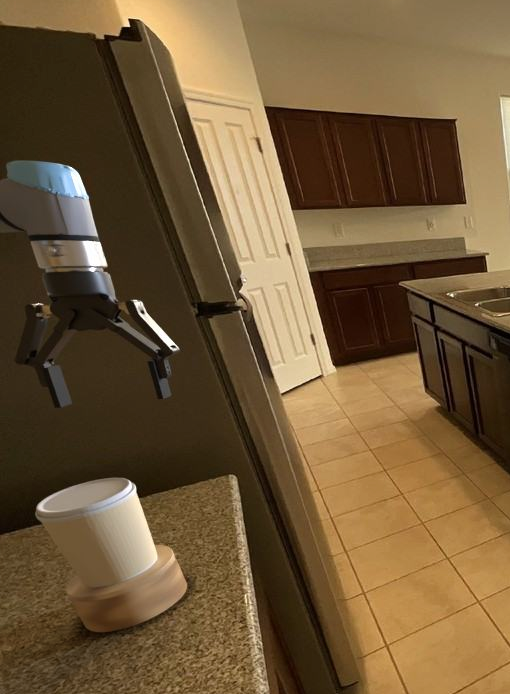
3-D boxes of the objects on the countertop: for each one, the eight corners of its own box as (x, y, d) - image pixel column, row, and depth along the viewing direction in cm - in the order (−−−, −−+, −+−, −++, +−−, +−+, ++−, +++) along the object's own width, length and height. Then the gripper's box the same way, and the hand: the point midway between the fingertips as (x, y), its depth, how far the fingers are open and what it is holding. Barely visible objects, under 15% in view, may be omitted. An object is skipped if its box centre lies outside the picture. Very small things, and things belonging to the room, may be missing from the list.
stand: (64, 641, 68) (43, 605, 66) (113, 586, 78) (96, 553, 75) (165, 620, 71) (148, 586, 69) (200, 570, 81) (187, 538, 78)
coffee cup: (150, 540, 78) (118, 470, 73) (177, 560, 74) (144, 487, 69) (64, 577, 71) (22, 501, 66) (88, 601, 66) (45, 522, 62)
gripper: (-54, 272, 75) (-1, 415, 80) (159, 268, 82) (194, 398, 88) (-10, 273, 81) (36, 404, 87) (182, 268, 89) (213, 389, 95)
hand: (115, 401), depth 87 cm, fingers open, 13 cm apart
